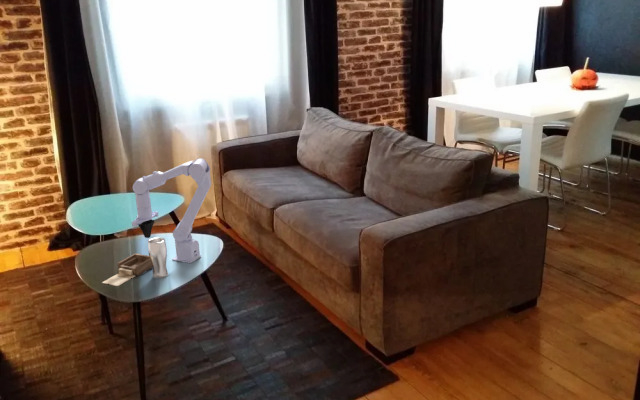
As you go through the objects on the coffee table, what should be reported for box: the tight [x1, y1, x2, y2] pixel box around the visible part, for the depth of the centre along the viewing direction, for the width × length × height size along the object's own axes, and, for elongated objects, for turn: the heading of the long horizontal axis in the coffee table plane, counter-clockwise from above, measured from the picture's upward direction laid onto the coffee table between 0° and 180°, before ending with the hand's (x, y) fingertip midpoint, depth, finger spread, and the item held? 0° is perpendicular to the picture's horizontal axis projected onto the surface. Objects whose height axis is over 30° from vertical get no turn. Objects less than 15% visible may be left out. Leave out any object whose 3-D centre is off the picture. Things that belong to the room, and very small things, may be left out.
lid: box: [101, 268, 136, 287], centre depth 240 cm, size 8×10×3 cm
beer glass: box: [147, 236, 169, 279], centre depth 241 cm, size 7×7×15 cm
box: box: [117, 253, 153, 277], centre depth 249 cm, size 10×11×4 cm
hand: (147, 237), depth 257 cm, fingers closed
